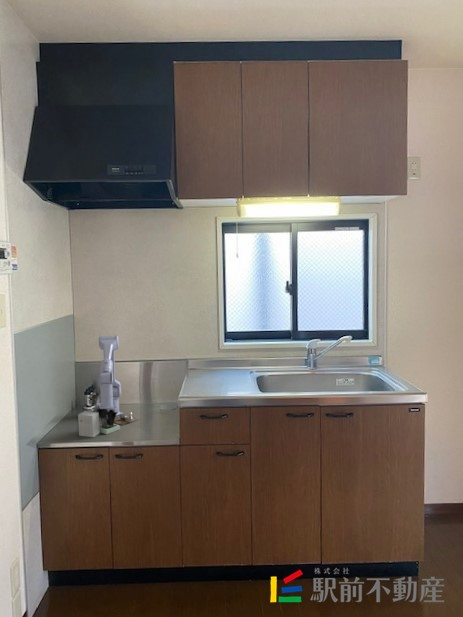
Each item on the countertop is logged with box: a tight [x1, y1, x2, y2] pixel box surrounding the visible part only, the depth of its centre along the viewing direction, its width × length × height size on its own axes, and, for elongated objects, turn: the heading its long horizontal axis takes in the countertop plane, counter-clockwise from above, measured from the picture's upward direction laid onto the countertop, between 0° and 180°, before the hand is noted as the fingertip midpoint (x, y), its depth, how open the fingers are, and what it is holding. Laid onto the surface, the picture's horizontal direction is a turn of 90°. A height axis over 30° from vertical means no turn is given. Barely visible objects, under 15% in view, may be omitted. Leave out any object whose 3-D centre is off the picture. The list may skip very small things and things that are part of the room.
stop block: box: [100, 416, 115, 429], centre depth 249 cm, size 4×4×6 cm
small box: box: [77, 410, 101, 438], centre depth 243 cm, size 8×6×10 cm
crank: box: [119, 411, 135, 421], centre depth 262 cm, size 9×4×4 cm, turn 52°
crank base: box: [114, 416, 140, 426], centre depth 264 cm, size 11×11×1 cm
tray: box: [99, 423, 121, 435], centre depth 249 cm, size 8×8×2 cm
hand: (107, 423), depth 249 cm, fingers open, 5 cm apart
